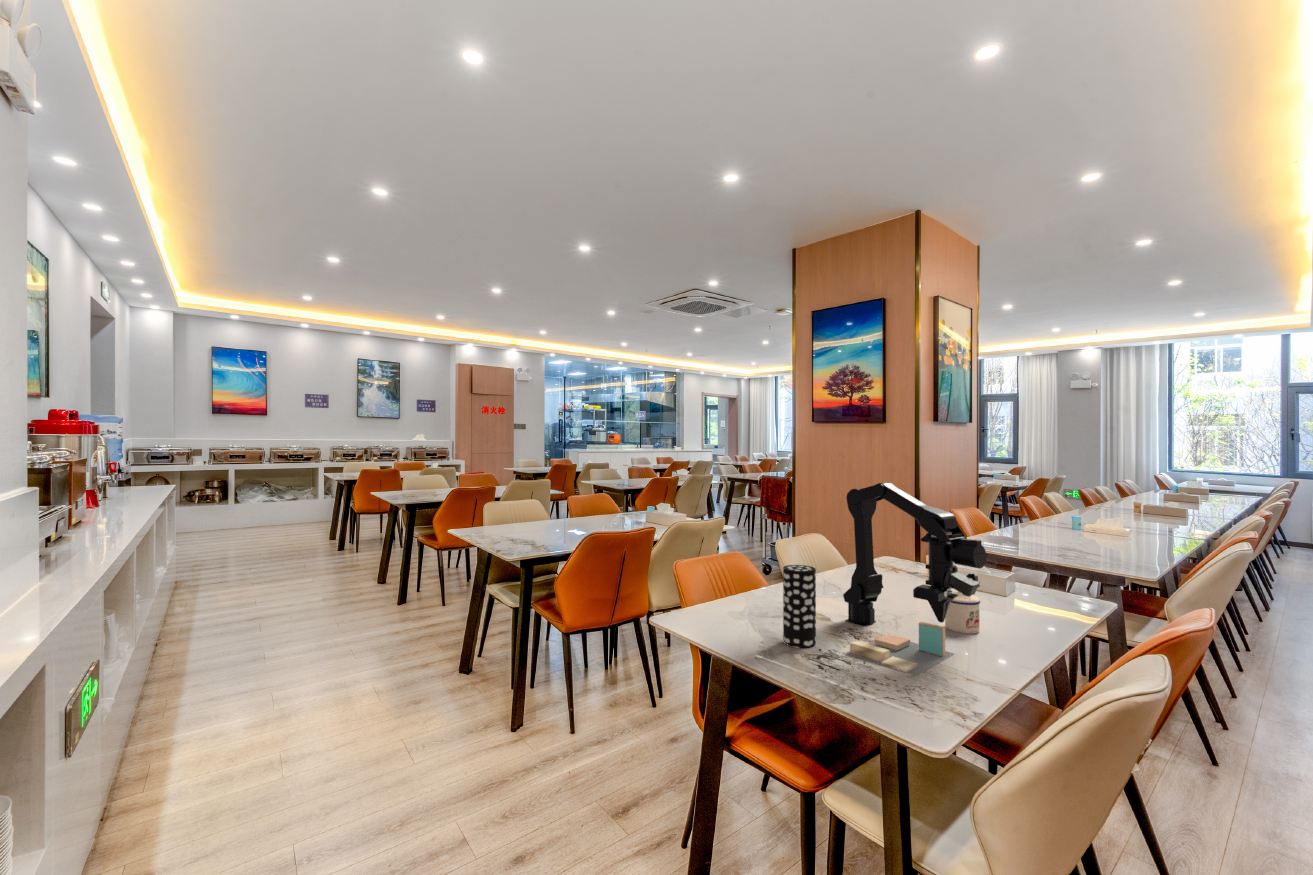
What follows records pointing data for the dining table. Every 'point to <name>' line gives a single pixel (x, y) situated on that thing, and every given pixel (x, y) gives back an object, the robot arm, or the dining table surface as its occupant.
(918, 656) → the mat
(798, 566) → the spotted tube
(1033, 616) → the dining table surface
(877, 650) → the cream stepped block
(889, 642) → the tile left
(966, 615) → the teacup with lid
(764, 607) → the dining table surface
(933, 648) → the tile right
